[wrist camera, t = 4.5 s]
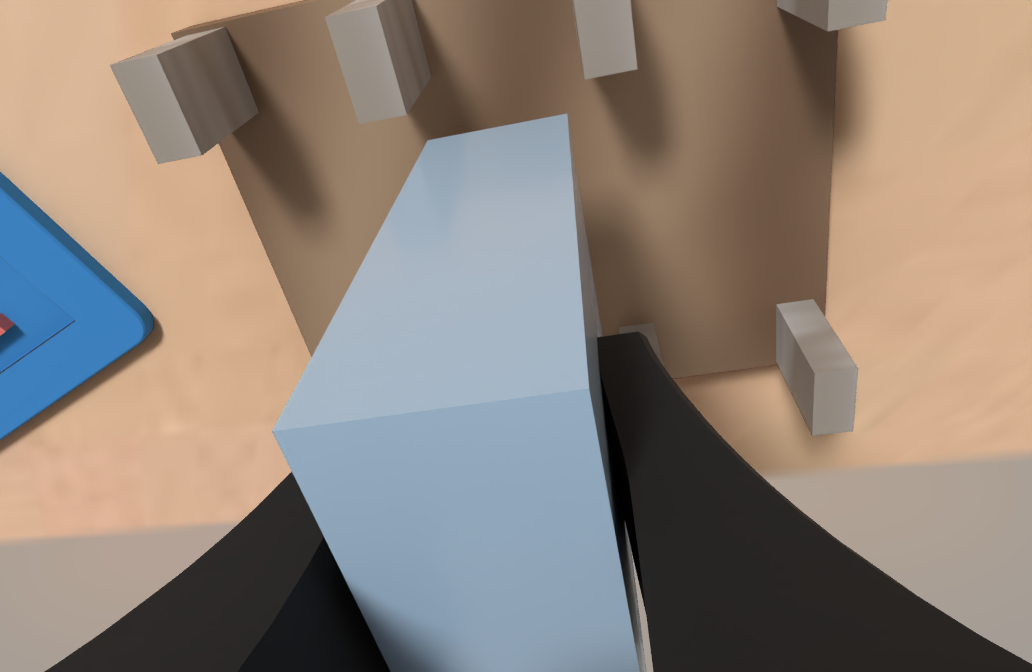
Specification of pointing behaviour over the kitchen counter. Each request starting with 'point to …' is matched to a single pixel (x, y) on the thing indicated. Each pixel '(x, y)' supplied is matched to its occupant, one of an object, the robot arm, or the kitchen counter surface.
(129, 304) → the handheld gaming device
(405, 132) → the walnut rack
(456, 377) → the slate-blue tile
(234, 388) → the kitchen counter surface
